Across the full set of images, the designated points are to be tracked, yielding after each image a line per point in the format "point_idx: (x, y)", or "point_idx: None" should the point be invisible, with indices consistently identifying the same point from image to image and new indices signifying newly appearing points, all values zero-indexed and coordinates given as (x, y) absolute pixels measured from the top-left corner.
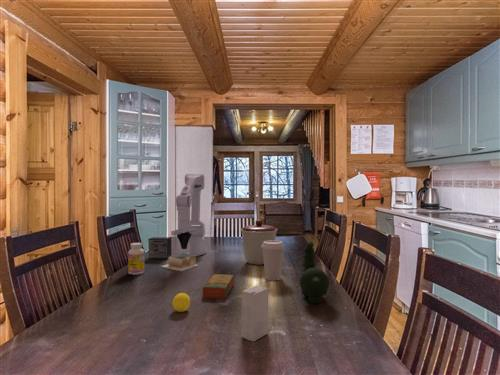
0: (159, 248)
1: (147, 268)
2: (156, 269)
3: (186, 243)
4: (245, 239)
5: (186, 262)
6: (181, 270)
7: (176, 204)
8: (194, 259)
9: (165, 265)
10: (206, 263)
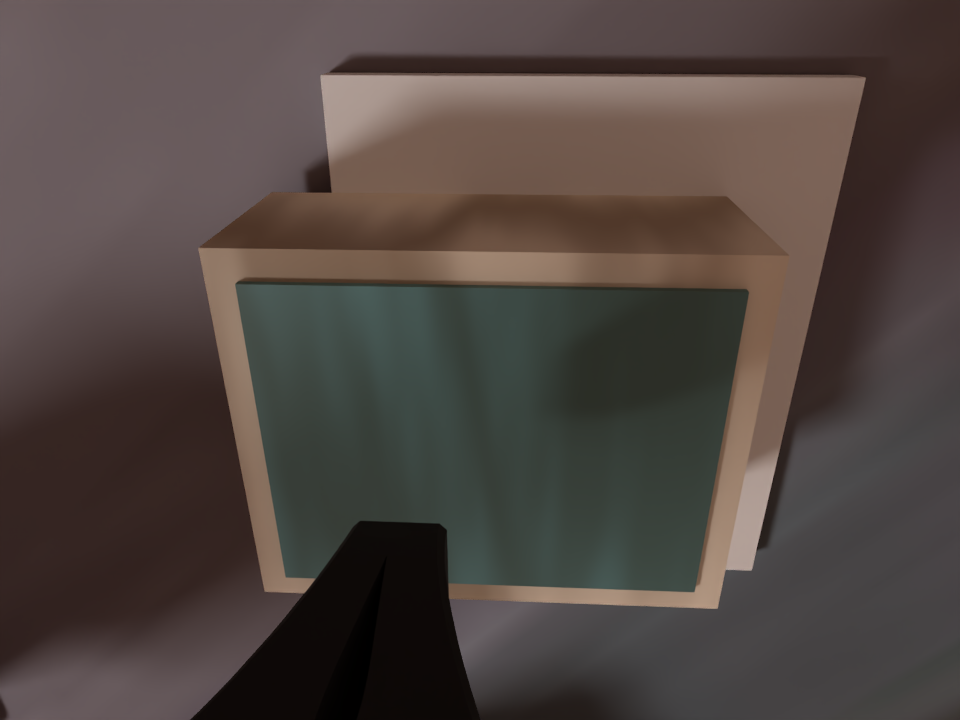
0: None
1: (877, 650)
2: (882, 528)
3: (347, 646)
4: None
5: (570, 217)
6: (850, 76)
7: None
8: (290, 221)
9: None
10: (49, 75)
